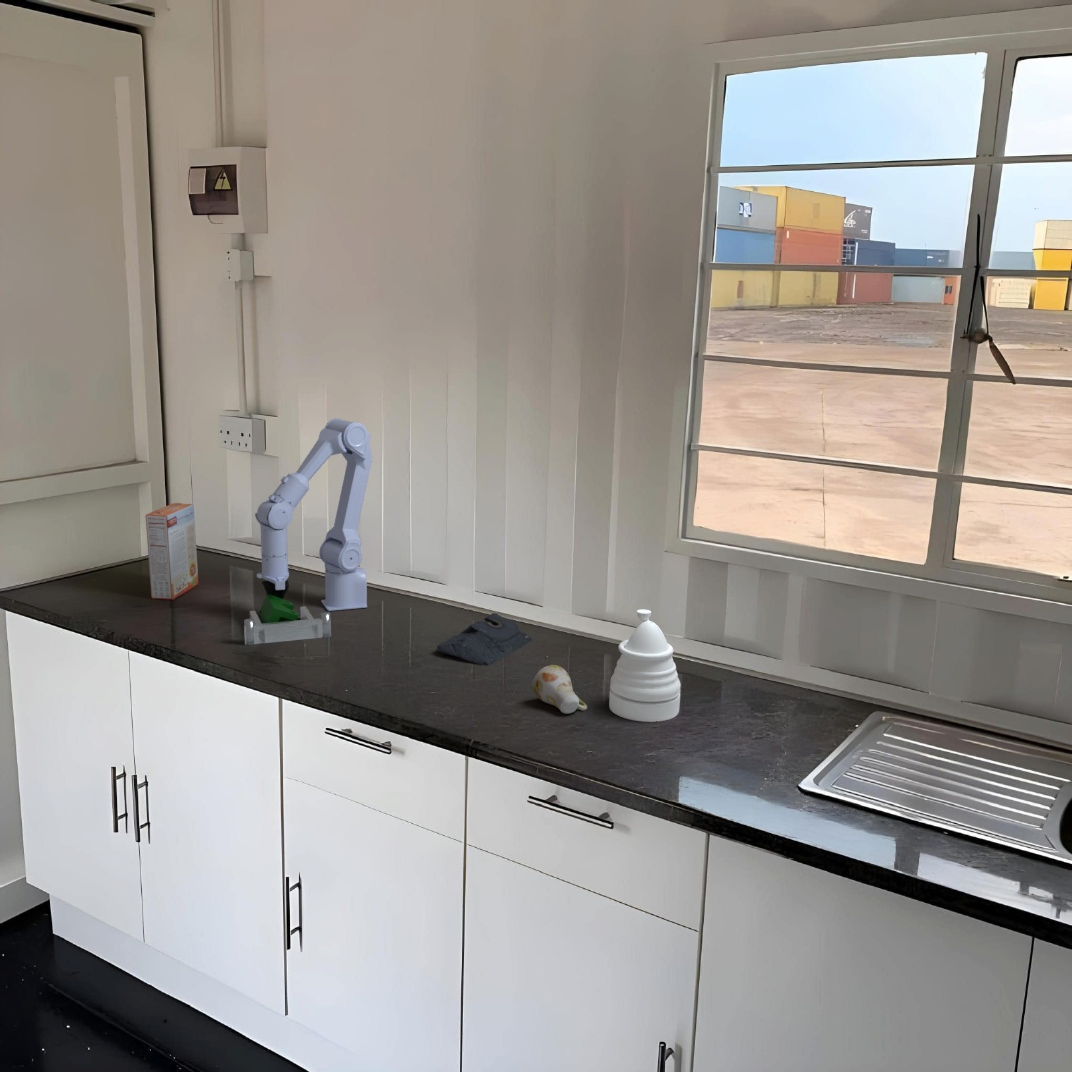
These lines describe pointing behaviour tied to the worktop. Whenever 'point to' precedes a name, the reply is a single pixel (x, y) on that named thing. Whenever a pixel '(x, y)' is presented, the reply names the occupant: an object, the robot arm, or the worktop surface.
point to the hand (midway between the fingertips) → (276, 612)
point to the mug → (556, 689)
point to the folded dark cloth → (486, 640)
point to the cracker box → (172, 550)
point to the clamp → (276, 610)
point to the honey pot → (645, 676)
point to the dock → (286, 628)
